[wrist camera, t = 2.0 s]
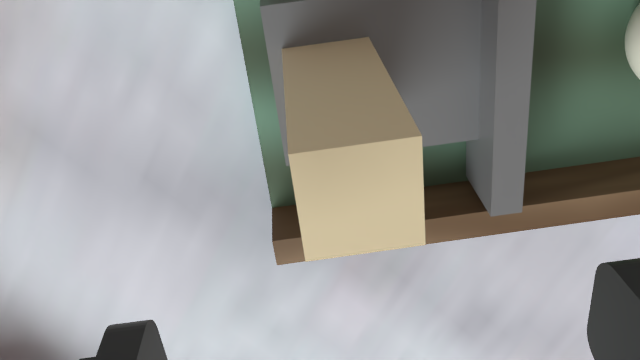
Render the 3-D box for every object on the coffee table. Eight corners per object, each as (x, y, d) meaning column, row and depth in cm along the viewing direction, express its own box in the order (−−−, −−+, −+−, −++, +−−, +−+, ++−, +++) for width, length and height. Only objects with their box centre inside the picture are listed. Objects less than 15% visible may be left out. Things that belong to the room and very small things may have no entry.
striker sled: (248, -81, 19) (230, -31, 11) (504, -116, 19) (682, -92, 11) (293, 199, 25) (306, 377, 16) (493, 172, 25) (607, 334, 16)
